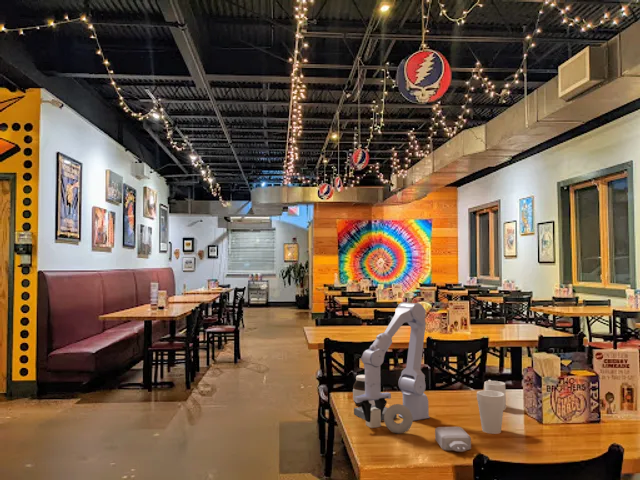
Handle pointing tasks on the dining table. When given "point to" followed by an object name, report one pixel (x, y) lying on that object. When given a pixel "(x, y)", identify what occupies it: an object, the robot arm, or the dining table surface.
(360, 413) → the tile
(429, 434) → the dining table surface
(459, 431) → the charger
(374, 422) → the block
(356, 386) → the spread jar
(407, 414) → the donut
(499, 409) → the foam cup
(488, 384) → the cup
